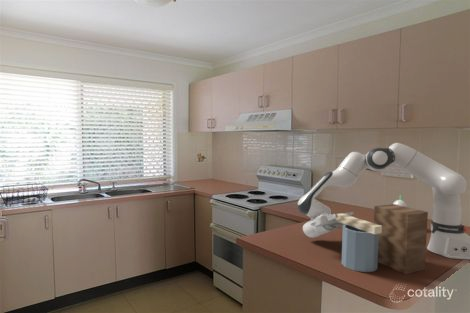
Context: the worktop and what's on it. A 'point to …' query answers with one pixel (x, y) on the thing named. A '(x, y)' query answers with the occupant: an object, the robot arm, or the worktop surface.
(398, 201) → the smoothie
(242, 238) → the worktop surface
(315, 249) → the worktop surface
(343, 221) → the slat
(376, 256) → the pot
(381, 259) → the stand
